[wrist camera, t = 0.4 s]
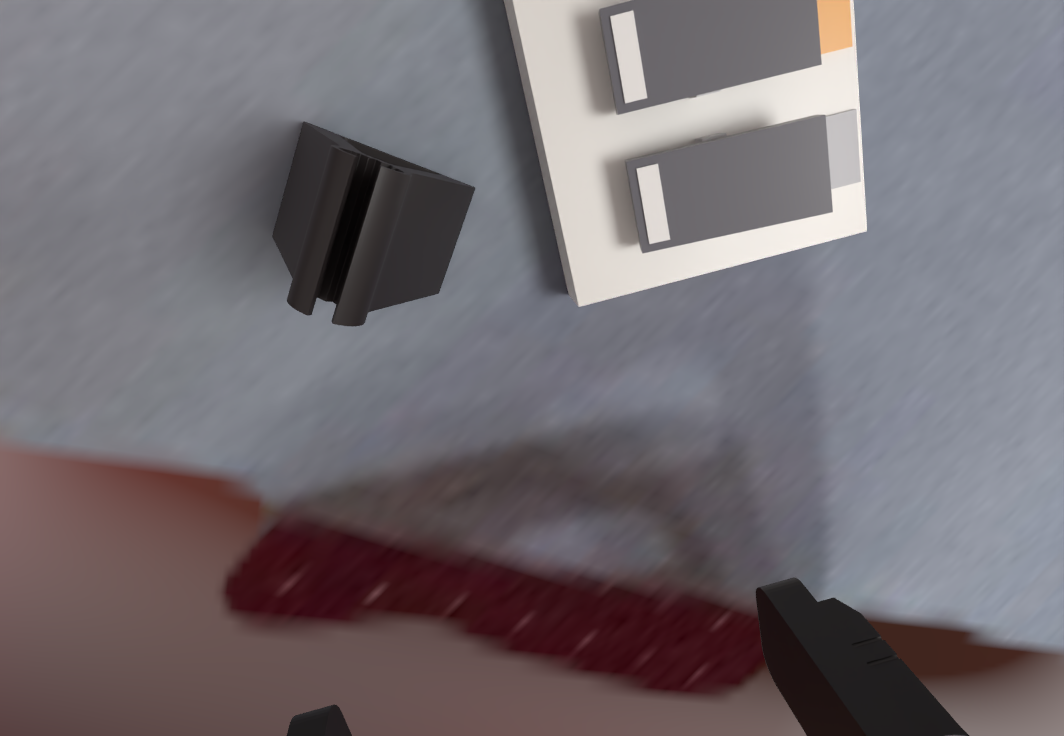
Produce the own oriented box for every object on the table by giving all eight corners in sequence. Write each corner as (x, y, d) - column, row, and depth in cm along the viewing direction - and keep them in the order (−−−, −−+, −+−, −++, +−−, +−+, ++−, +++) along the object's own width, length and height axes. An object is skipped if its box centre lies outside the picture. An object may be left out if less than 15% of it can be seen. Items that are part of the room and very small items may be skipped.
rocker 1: (598, 12, 30) (599, 8, 29) (803, -43, 29) (814, -50, 28) (616, 114, 31) (618, 114, 30) (812, 66, 30) (822, 64, 29)
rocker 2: (624, 159, 32) (626, 161, 31) (816, 114, 31) (826, 114, 30) (640, 248, 34) (642, 254, 32) (824, 208, 32) (833, 212, 31)
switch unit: (467, -166, 30) (470, -210, 26) (800, -242, 31) (850, -296, 27) (568, 294, 38) (582, 311, 34) (835, 224, 38) (878, 233, 35)
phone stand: (273, 234, 35) (191, 278, 23) (305, 120, 33) (234, 108, 22) (438, 292, 37) (437, 358, 25) (475, 187, 35) (491, 208, 24)
